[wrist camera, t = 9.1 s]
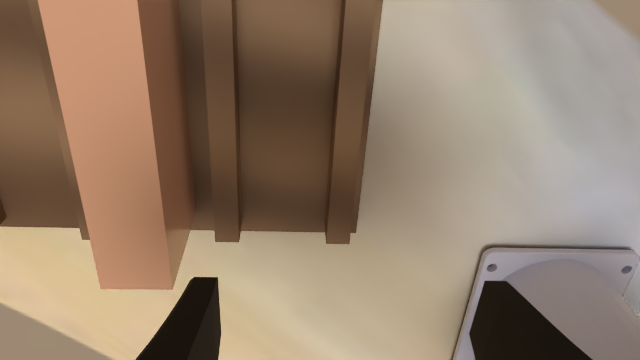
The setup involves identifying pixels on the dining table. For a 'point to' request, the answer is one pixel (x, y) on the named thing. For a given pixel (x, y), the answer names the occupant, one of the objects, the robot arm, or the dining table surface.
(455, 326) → the dining table surface
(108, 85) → the clay block
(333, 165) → the rack
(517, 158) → the dining table surface
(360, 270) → the dining table surface
